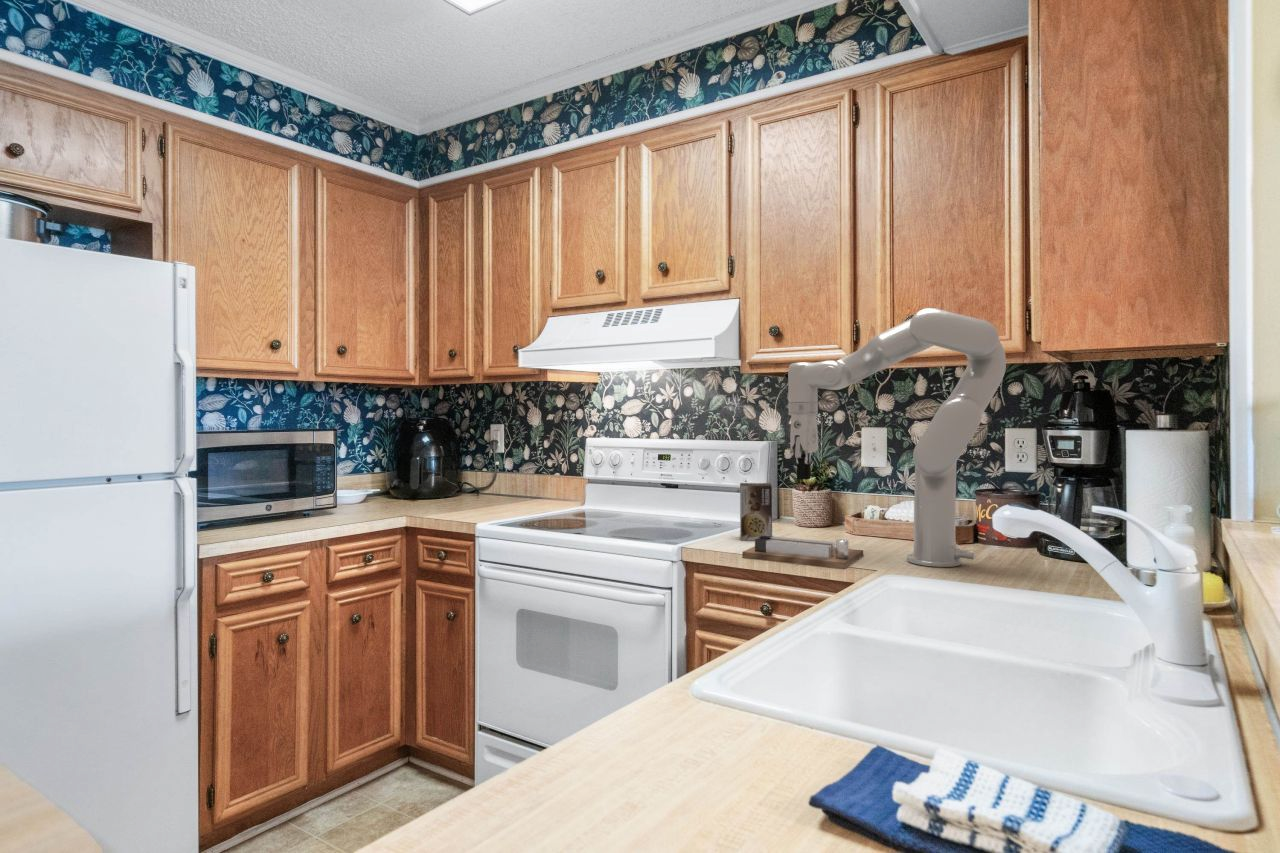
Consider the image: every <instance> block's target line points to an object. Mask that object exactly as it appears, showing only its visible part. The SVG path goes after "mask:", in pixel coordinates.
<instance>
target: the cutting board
mask: <svg viewBox="0 0 1280 853" xmlns="http://www.w3.org/2000/svg"><path fill="white" fill-rule="evenodd" d="M741 553H742V554H741V555H742V557H741V558H743V559H751V560H758V561H759V560H761V561H768V562H769V561H770V562H778V563H787V564H794V565H795V564H796V565H804V566H805V565H806V566H811V567H812V566H814V567H822V568H831V569H841V570H845V569H847V568H848V567H850V566H851V565H852V563H853V562H854V563H855V561H856V560H857V561H858V560H860V559H861V558H863V557H864V550H863V549H854V548H848V559H845V560H842V559H836V547H835V554H834V555H833V556H831V558H830V559H822V558H812V557H803V556H794V555H784V554H775V553H765V552H756V551H755V546H752V547H750V548H748V549H746V550H744V551H742V552H741ZM862 556H863V557H862ZM860 557H861V558H860ZM859 558H860V559H859ZM857 561H856V562H857ZM854 563H853V564H854ZM850 564H851V565H850ZM849 565H850V566H849Z"/></svg>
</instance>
